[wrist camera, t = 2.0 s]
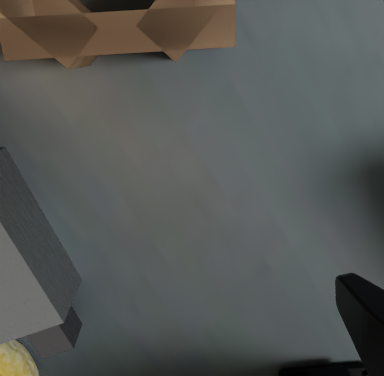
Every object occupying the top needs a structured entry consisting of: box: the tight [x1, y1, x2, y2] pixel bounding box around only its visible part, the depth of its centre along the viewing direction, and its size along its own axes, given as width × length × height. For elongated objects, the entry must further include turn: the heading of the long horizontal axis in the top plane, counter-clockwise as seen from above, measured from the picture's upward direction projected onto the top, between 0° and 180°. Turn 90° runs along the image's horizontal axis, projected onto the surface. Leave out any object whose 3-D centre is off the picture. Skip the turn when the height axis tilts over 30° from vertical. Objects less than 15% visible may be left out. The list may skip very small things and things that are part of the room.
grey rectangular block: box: [0, 147, 82, 359], centre depth 20 cm, size 12×4×4 cm, turn 20°
